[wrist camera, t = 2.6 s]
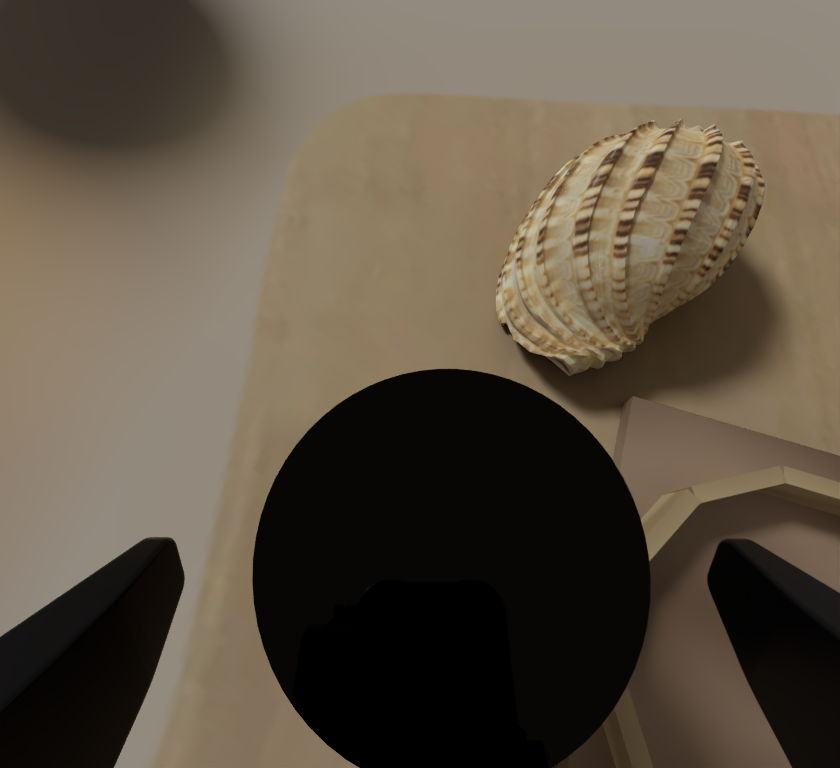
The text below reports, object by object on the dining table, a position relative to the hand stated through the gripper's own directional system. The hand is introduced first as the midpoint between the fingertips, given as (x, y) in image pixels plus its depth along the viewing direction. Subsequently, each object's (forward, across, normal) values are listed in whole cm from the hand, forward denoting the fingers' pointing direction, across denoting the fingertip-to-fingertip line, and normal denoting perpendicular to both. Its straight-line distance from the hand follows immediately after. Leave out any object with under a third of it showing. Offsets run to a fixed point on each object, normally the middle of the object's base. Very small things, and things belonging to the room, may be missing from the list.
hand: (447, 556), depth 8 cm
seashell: (+13, -7, -1) cm, 15 cm away
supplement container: (+6, 0, +6) cm, 8 cm away
